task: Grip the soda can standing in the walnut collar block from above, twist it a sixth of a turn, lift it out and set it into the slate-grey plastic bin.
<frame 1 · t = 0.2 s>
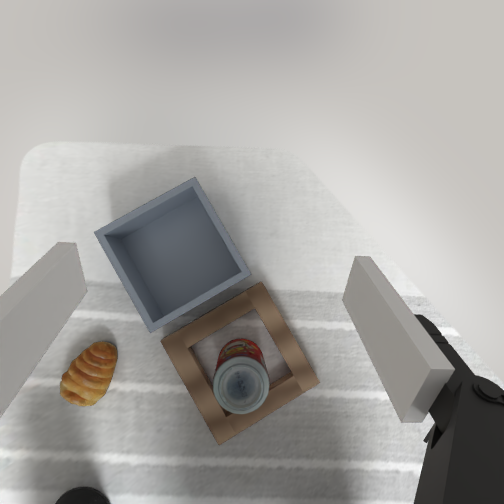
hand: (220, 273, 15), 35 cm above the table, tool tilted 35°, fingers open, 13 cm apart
collar block: (240, 358, 48), on the table
pastry: (93, 371, 48), on the table
soda can: (240, 357, 49), on the table
bin: (182, 255, 49), on the table
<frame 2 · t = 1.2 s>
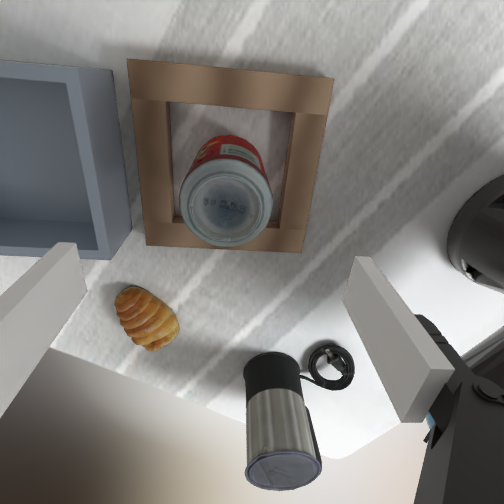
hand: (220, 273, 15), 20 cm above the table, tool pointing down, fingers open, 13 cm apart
milk frother: (295, 363, 49), on the table
collar block: (229, 167, 32), on the table
pastry: (149, 312, 42), on the table
soda can: (229, 166, 33), on the table
bin: (42, 153, 31), on the table
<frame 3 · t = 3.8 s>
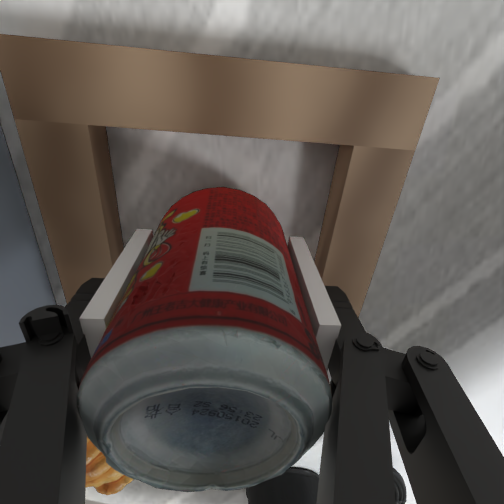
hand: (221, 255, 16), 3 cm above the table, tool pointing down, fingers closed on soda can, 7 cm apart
milk frother: (318, 476, 35), on the table
collar block: (222, 234, 18), on the table
pastry: (103, 430, 29), on the table
soda can: (222, 232, 19), on the table, touching gripper
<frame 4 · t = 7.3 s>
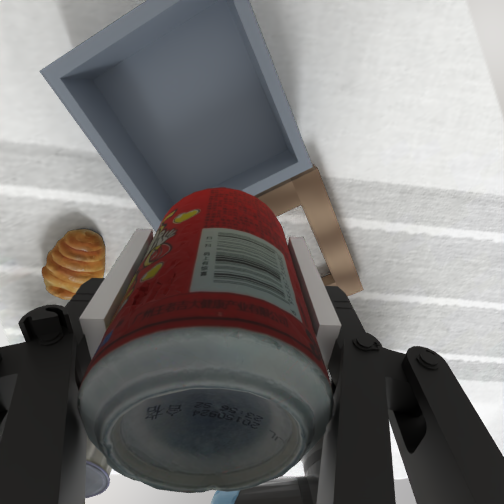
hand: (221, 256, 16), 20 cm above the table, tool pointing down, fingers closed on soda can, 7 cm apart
milk frother: (135, 385, 51), on the table
collar block: (273, 257, 40), on the table
pastry: (80, 259, 39), on the table
soda can: (223, 232, 18), point 17 cm above the table, touching gripper
bin: (197, 115, 31), on the table
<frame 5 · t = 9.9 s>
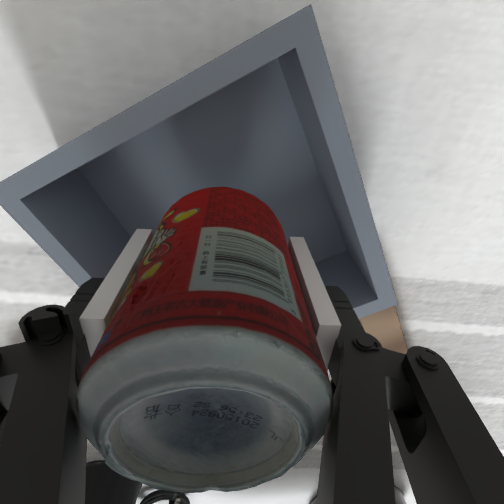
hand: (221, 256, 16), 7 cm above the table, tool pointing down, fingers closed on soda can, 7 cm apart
milk frother: (135, 483, 43), on the table
collar block: (311, 362, 31), on the table
soda can: (222, 232, 18), point 4 cm above the table, touching gripper
bin: (225, 207, 22), on the table
when the fingers open (5 cm above the table, at t = 11.2 s): soda can drops 1 cm, resting on bin.
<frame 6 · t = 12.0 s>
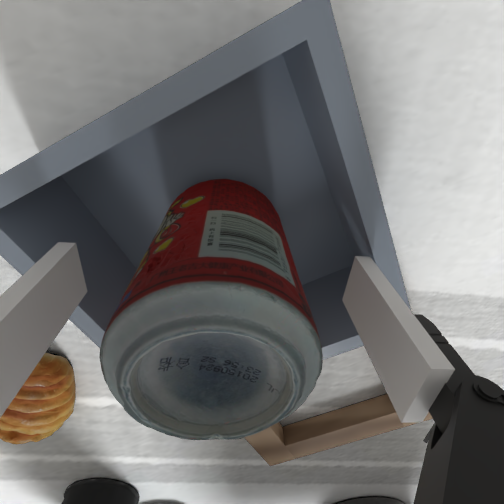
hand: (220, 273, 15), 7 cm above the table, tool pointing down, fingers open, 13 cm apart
milk frother: (131, 500, 41), on the table
collar block: (315, 378, 29), on the table
pastry: (41, 381, 28), on the table
soda can: (224, 223, 20), point 1 cm above the table, touching bin
bin: (224, 217, 20), on the table
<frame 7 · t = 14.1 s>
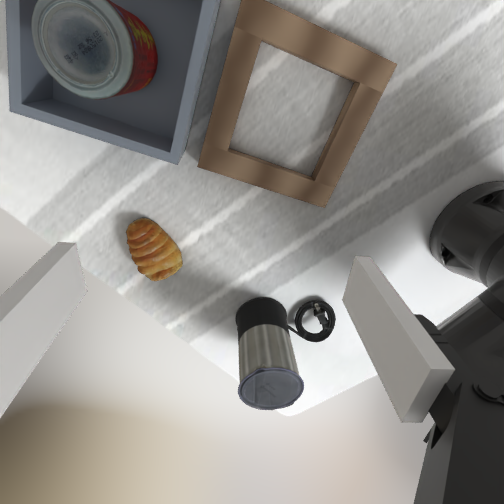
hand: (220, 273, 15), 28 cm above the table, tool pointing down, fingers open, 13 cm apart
milk frother: (283, 313, 55), on the table
collar block: (288, 116, 37), on the table
pastry: (155, 247, 46), on the table
soda can: (127, 53, 32), point 1 cm above the table, touching bin
bin: (129, 53, 33), on the table
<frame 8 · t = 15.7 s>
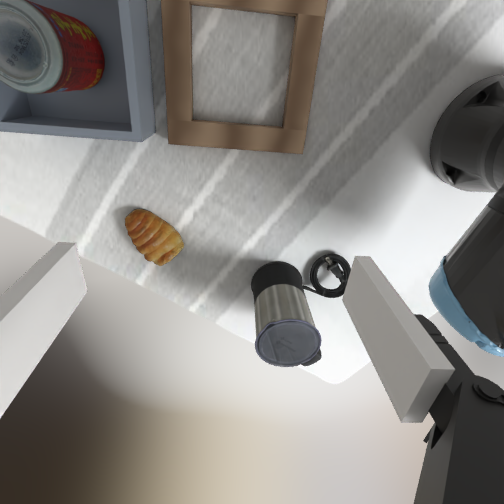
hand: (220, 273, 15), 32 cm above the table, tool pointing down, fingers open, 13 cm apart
milk frother: (297, 275, 54), on the table
collar block: (240, 71, 38), on the table
pastry: (157, 235, 49), on the table
soda can: (79, 55, 35), point 1 cm above the table, touching bin
bin: (82, 56, 36), on the table
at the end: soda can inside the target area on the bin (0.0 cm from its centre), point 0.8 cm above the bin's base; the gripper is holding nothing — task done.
